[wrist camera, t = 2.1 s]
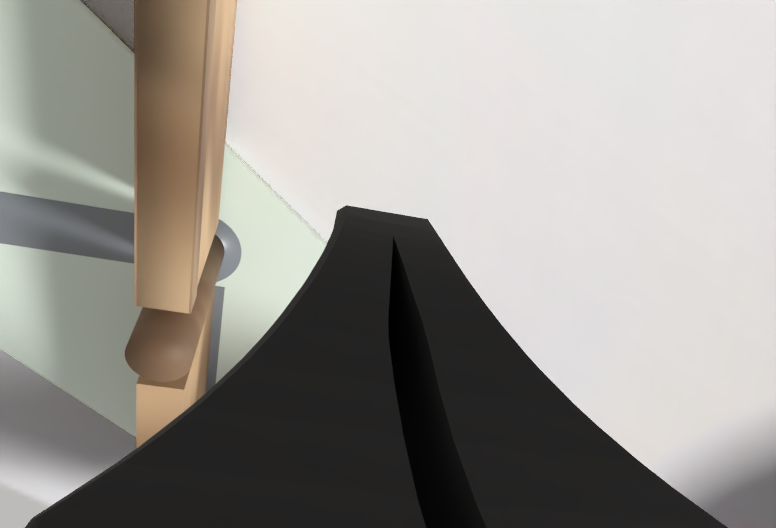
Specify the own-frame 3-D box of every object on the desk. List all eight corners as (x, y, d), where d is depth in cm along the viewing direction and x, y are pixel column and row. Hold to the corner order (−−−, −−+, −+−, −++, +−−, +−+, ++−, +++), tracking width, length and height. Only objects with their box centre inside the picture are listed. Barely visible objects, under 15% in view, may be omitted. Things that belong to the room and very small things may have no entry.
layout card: (407, 322, 23) (408, 328, 23) (180, 459, 27) (179, 466, 26) (-6, -84, 16) (-12, -82, 15) (-237, 184, 19) (-245, 189, 19)
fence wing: (220, 223, 20) (190, 313, 16) (173, 216, 19) (134, 305, 16) (246, -81, 15) (212, -39, 12) (185, -94, 15) (134, -56, 12)
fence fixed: (228, 225, 20) (193, 338, 16) (207, 452, 26) (177, 577, 22) (173, 216, 20) (123, 329, 16) (164, 447, 26) (126, 572, 22)
